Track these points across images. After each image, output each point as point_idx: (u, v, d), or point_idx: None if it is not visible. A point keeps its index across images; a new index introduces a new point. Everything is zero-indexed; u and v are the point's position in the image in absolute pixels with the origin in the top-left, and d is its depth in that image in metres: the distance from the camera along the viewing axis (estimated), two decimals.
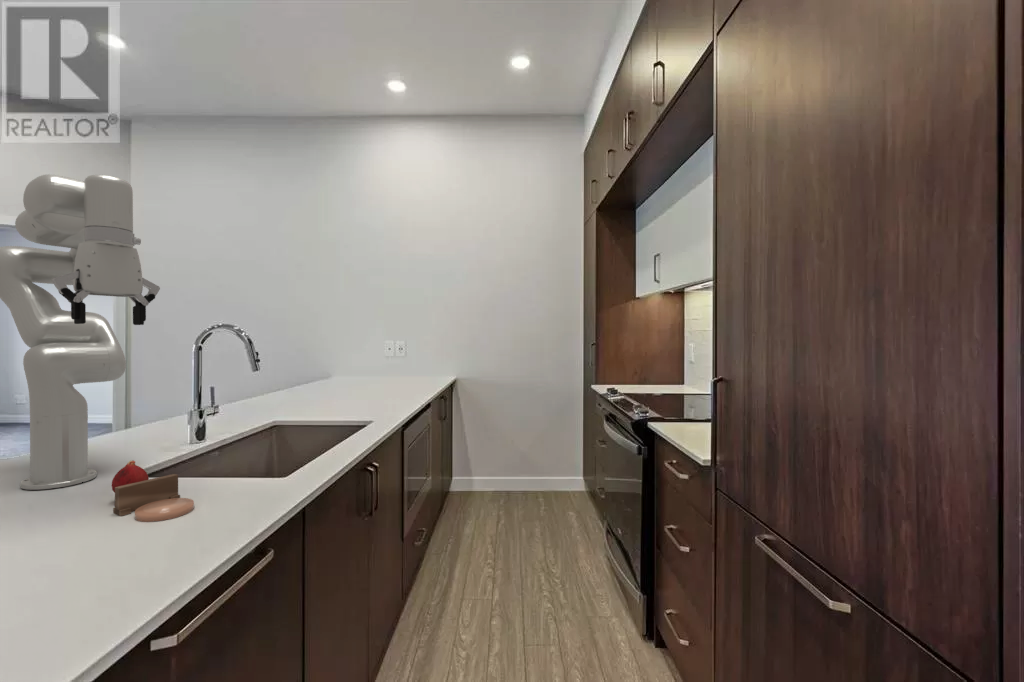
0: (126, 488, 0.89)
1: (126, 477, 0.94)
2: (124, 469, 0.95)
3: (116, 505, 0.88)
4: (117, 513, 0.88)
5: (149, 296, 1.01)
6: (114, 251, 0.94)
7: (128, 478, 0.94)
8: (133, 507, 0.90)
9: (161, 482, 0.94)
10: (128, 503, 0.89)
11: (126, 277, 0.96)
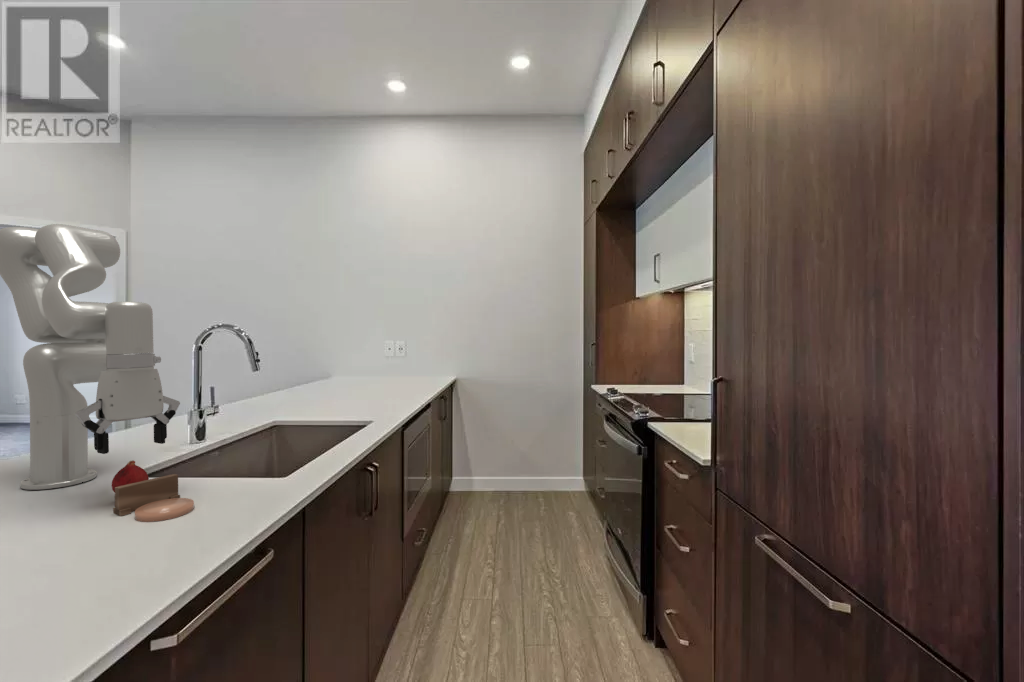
0: (126, 488, 0.89)
1: (126, 477, 0.94)
2: (124, 469, 0.95)
3: (116, 505, 0.88)
4: (117, 513, 0.88)
5: (170, 413, 1.01)
6: (136, 376, 0.94)
7: (128, 479, 0.94)
8: (133, 507, 0.90)
9: (161, 482, 0.94)
10: (128, 503, 0.89)
11: (147, 400, 0.96)
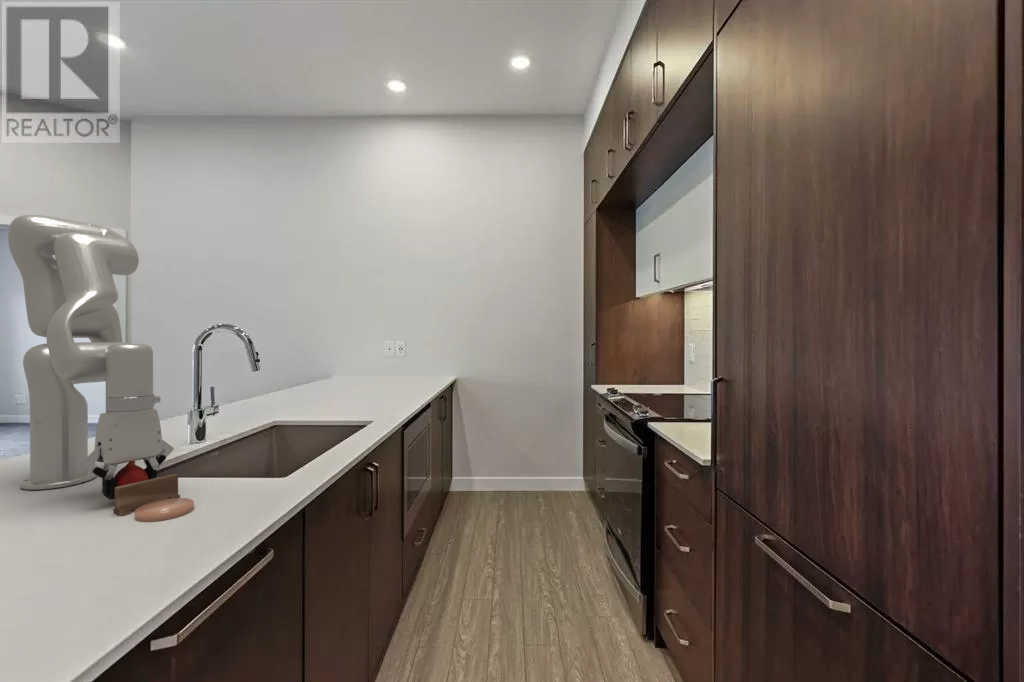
0: (126, 488, 0.89)
1: (126, 477, 0.94)
2: (124, 469, 0.95)
3: (116, 505, 0.88)
4: (117, 513, 0.88)
5: (160, 458, 1.00)
6: (135, 419, 0.95)
7: (128, 478, 0.94)
8: (133, 507, 0.90)
9: (161, 482, 0.94)
10: (128, 503, 0.89)
11: (146, 441, 0.96)
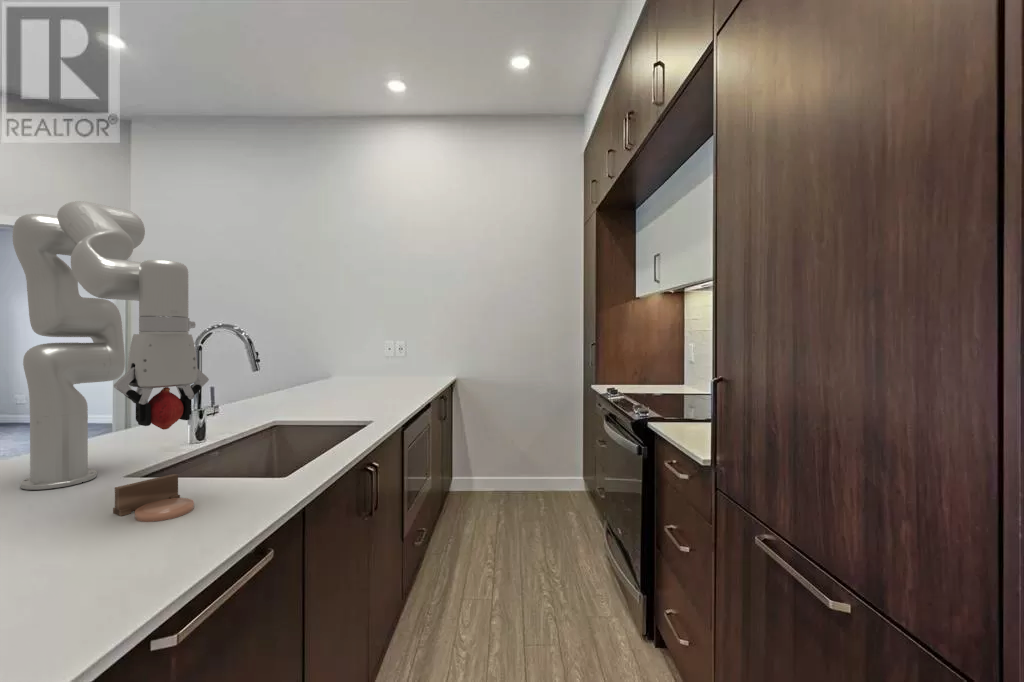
0: (126, 488, 0.89)
1: (160, 403, 0.87)
2: (158, 395, 0.88)
3: (116, 505, 0.88)
4: (117, 513, 0.88)
5: (195, 388, 0.93)
6: (170, 341, 0.88)
7: (163, 404, 0.87)
8: (133, 507, 0.90)
9: (161, 482, 0.94)
10: (128, 503, 0.89)
11: (181, 367, 0.90)
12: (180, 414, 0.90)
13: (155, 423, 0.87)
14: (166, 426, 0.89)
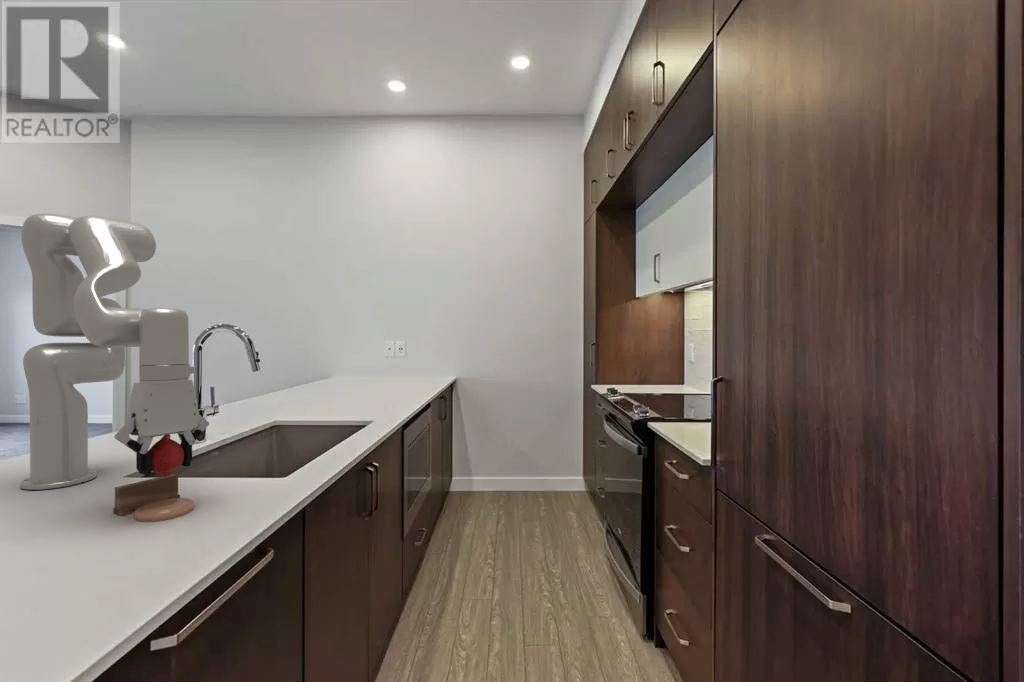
0: (126, 488, 0.89)
1: (161, 451, 0.87)
2: (159, 443, 0.88)
3: (116, 505, 0.88)
4: (117, 513, 0.88)
5: (195, 433, 0.93)
6: (170, 389, 0.88)
7: (164, 453, 0.87)
8: (133, 507, 0.90)
9: (161, 482, 0.94)
10: (128, 503, 0.89)
11: (182, 414, 0.90)
12: (181, 461, 0.90)
13: (156, 471, 0.87)
14: (167, 474, 0.89)
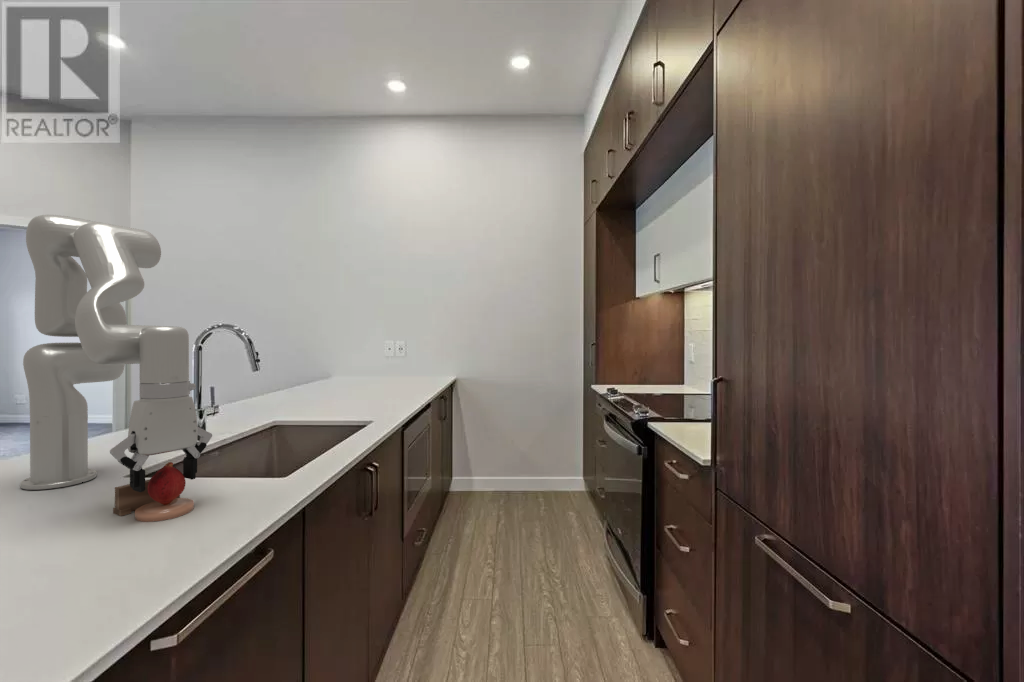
0: (126, 488, 0.89)
1: (163, 479, 0.88)
2: (161, 471, 0.89)
3: (116, 505, 0.88)
4: (117, 513, 0.88)
5: (200, 446, 0.94)
6: (171, 406, 0.88)
7: (166, 481, 0.88)
8: (133, 507, 0.90)
9: None
10: (128, 503, 0.89)
11: (182, 431, 0.90)
12: (182, 489, 0.90)
13: (157, 499, 0.88)
14: (167, 502, 0.89)
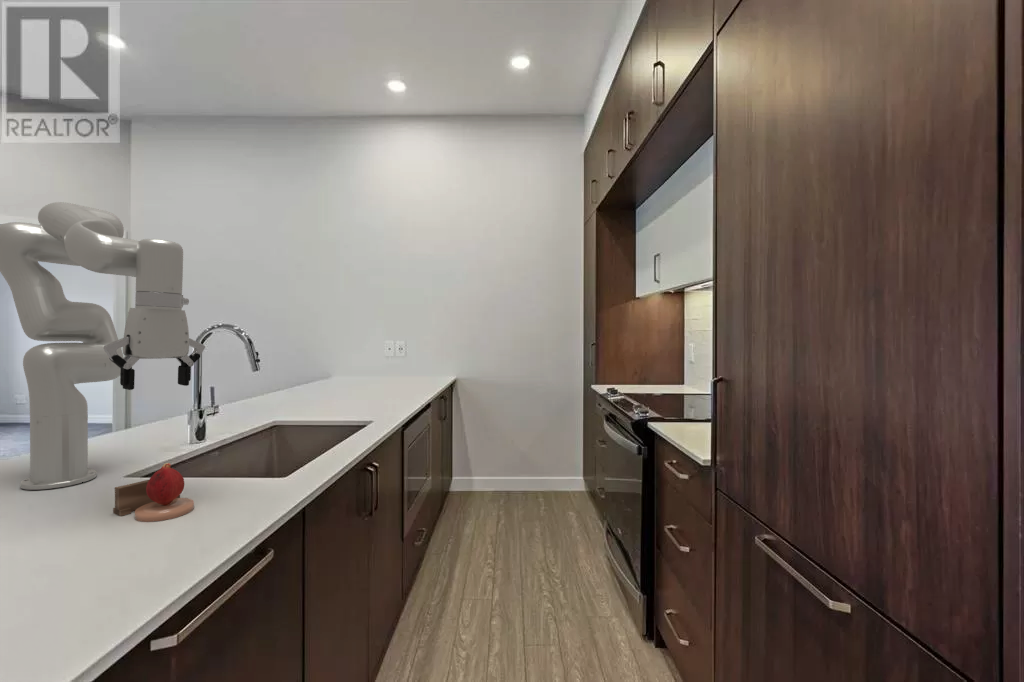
0: (126, 488, 0.89)
1: (161, 481, 0.88)
2: (159, 472, 0.88)
3: (116, 505, 0.88)
4: (117, 513, 0.88)
5: (194, 356, 1.01)
6: (164, 315, 0.94)
7: (164, 482, 0.88)
8: (133, 507, 0.90)
9: None
10: (128, 503, 0.89)
11: (174, 340, 0.96)
12: (181, 490, 0.90)
13: (156, 501, 0.88)
14: (167, 503, 0.89)
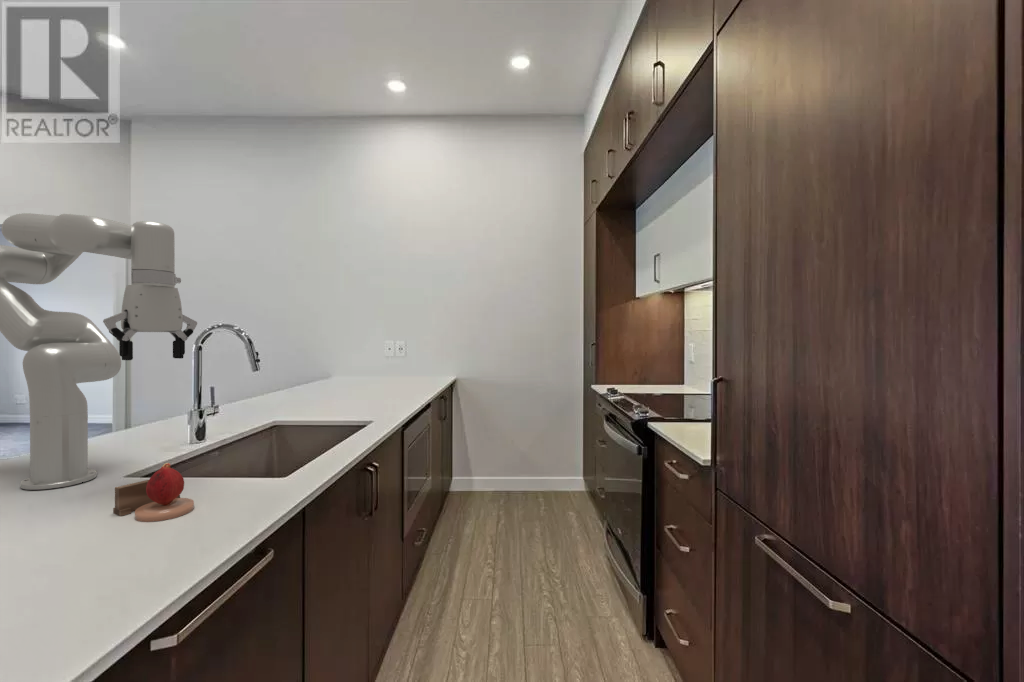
0: (126, 488, 0.89)
1: (161, 481, 0.88)
2: (159, 472, 0.88)
3: (116, 505, 0.88)
4: (117, 513, 0.88)
5: (188, 331, 1.08)
6: (158, 292, 1.01)
7: (164, 482, 0.88)
8: (133, 507, 0.90)
9: None
10: (128, 503, 0.89)
11: (168, 315, 1.03)
12: (181, 490, 0.90)
13: (156, 501, 0.88)
14: (167, 502, 0.89)
